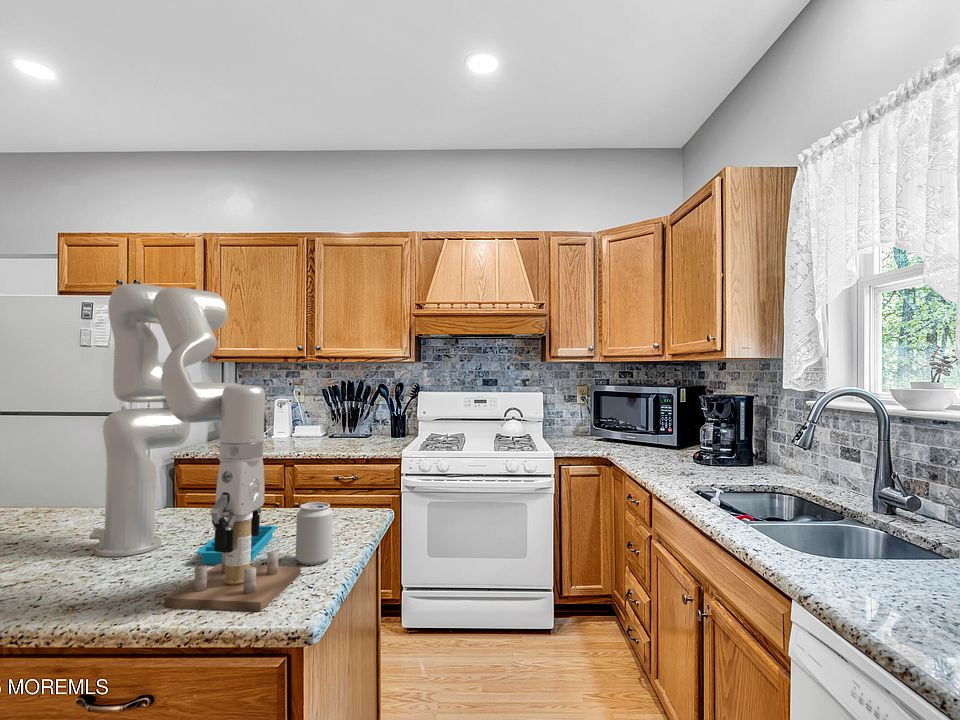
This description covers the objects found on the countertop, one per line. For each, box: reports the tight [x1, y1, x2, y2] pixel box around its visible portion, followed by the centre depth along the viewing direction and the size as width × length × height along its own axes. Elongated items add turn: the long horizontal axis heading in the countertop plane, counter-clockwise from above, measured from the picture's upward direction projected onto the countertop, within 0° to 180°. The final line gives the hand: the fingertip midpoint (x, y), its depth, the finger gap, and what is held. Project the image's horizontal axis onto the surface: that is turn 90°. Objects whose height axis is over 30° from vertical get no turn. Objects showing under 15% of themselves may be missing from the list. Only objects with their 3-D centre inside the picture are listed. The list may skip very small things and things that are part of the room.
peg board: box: [163, 550, 302, 612], centre depth 100 cm, size 17×17×6 cm
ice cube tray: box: [196, 525, 278, 565], centre depth 123 cm, size 12×20×3 cm, turn 6°
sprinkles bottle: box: [224, 511, 253, 585], centre depth 100 cm, size 5×5×13 cm
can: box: [295, 501, 334, 566], centre depth 117 cm, size 8×8×12 cm
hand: (237, 543), depth 101 cm, fingers open, 9 cm apart
